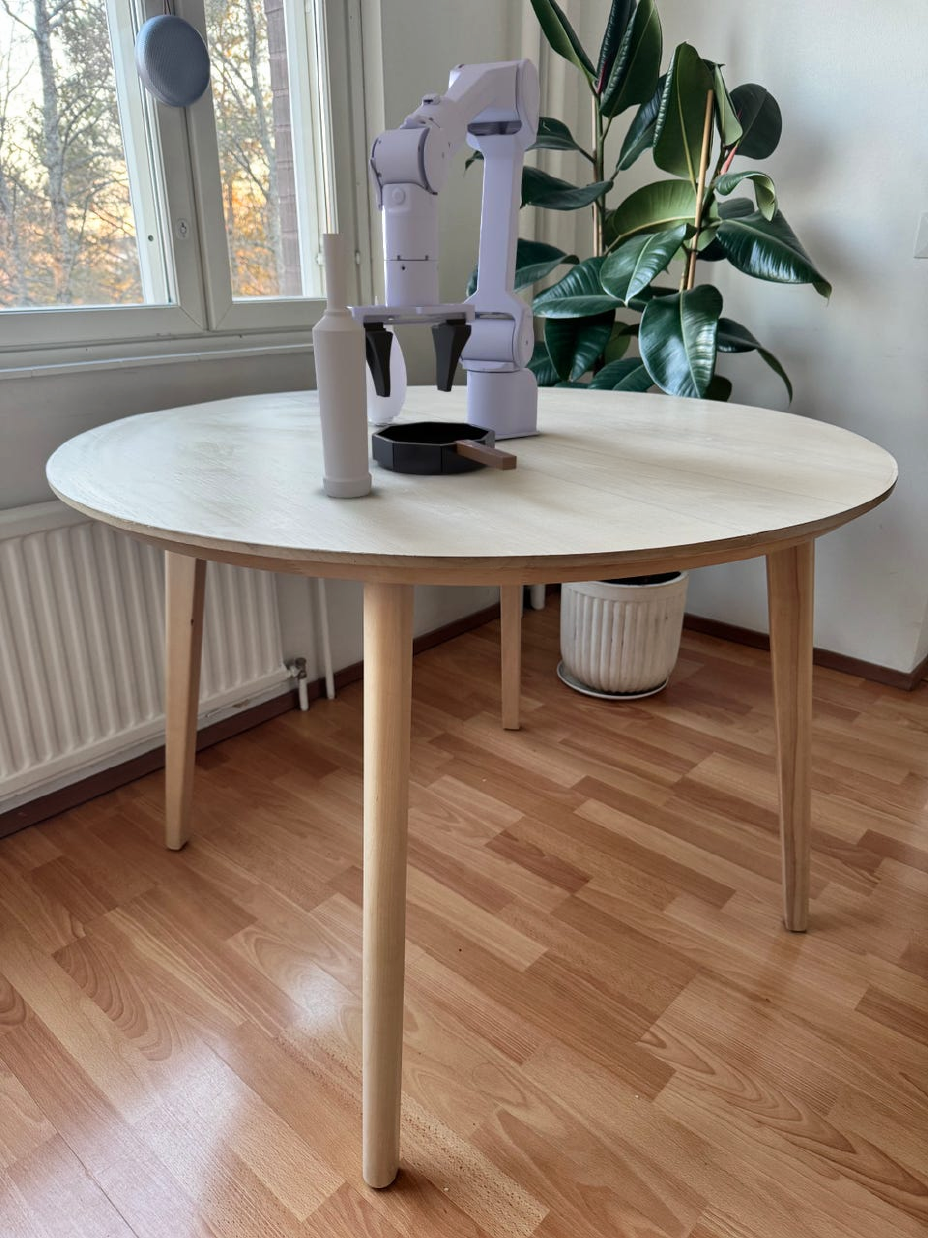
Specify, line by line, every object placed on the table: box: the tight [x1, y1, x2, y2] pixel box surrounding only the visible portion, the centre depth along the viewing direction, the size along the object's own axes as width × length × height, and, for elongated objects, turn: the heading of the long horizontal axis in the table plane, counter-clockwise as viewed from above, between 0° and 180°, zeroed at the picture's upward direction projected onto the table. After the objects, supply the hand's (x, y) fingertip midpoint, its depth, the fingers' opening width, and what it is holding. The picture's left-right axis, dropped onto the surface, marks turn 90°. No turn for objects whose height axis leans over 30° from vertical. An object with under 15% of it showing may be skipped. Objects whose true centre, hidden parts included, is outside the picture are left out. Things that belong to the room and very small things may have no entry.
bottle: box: [311, 233, 373, 499], centre depth 84 cm, size 5×5×25 cm
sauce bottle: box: [366, 294, 408, 426], centre depth 120 cm, size 8×8×18 cm
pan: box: [371, 420, 518, 476], centre depth 97 cm, size 14×24×4 cm, turn 31°
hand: (414, 393), depth 93 cm, fingers open, 7 cm apart
